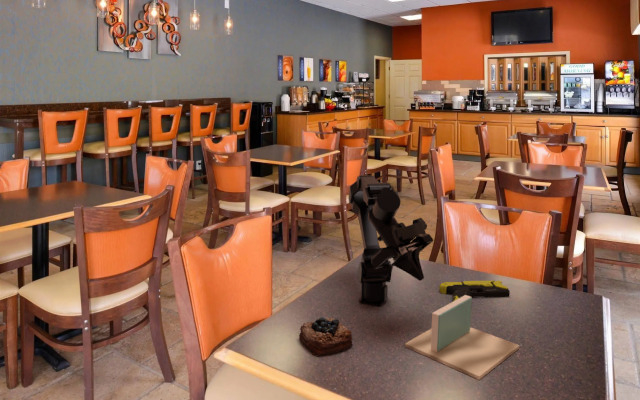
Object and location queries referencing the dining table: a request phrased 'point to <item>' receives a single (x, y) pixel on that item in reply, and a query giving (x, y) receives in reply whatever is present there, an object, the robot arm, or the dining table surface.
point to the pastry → (325, 336)
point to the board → (467, 351)
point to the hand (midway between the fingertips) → (422, 279)
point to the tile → (450, 322)
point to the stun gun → (474, 289)
